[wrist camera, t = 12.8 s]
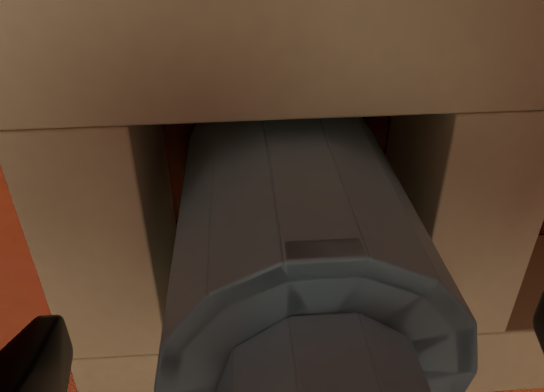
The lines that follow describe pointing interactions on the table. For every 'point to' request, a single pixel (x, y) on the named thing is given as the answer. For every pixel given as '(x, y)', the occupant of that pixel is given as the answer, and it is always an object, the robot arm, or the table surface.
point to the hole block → (270, 106)
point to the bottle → (306, 270)
